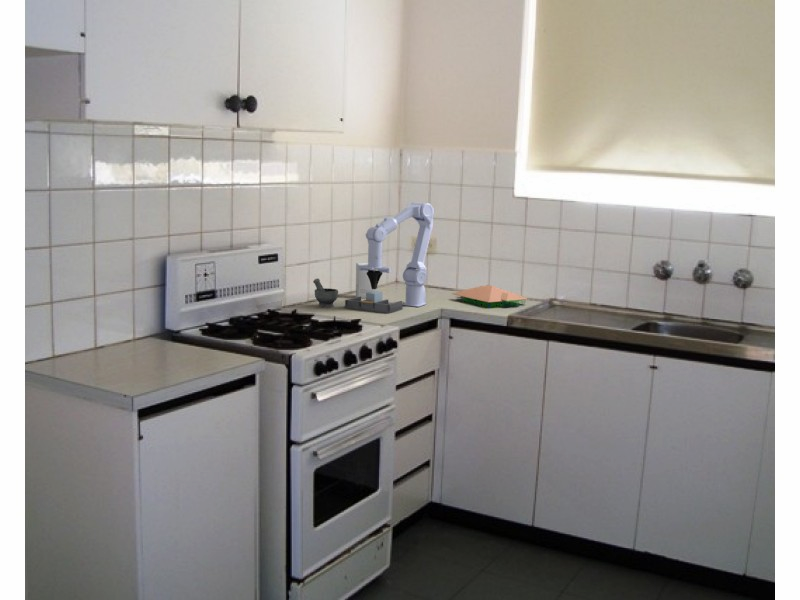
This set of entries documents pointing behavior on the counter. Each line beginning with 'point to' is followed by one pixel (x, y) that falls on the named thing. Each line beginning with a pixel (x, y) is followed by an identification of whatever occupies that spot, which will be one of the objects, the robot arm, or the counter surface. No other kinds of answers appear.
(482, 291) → the house
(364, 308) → the rack
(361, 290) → the skincare box
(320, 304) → the mortar and pestle
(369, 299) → the rectangular block
